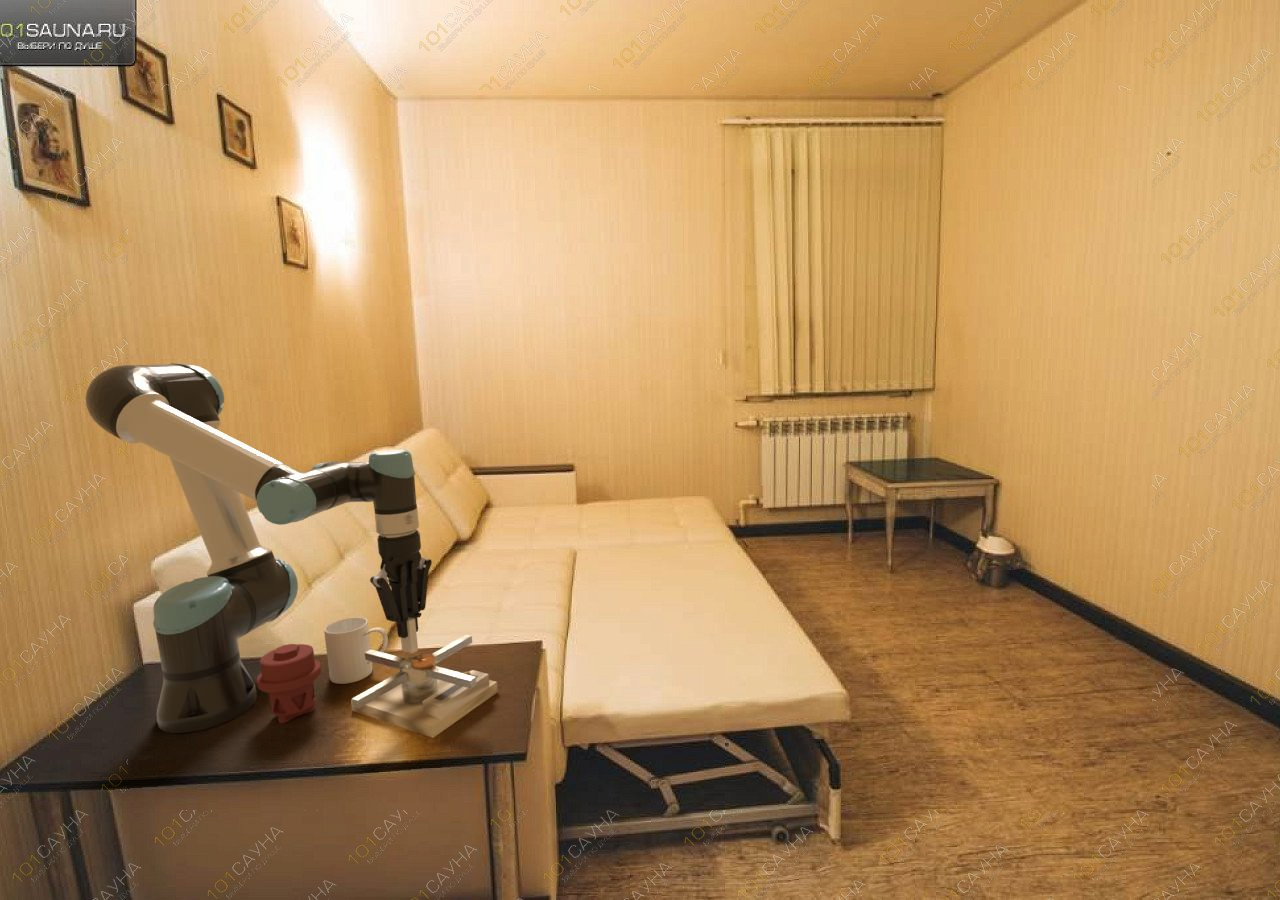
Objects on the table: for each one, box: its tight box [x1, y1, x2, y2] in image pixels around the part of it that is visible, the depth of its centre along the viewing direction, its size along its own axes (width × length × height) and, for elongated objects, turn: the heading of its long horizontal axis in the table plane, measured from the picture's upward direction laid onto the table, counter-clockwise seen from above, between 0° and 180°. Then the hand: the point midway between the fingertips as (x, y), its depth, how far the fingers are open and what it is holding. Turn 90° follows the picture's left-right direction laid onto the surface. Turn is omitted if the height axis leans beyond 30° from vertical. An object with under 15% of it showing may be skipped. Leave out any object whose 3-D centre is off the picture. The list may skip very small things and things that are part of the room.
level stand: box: [350, 665, 498, 738], centre depth 118 cm, size 20×16×6 cm
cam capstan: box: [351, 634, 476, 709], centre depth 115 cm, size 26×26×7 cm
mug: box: [323, 616, 389, 685], centre depth 129 cm, size 12×8×10 cm, turn 84°
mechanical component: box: [256, 643, 322, 724], centre depth 115 cm, size 12×10×10 cm
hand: (410, 650), depth 125 cm, fingers closed
